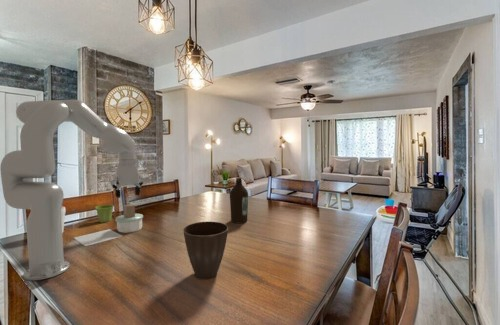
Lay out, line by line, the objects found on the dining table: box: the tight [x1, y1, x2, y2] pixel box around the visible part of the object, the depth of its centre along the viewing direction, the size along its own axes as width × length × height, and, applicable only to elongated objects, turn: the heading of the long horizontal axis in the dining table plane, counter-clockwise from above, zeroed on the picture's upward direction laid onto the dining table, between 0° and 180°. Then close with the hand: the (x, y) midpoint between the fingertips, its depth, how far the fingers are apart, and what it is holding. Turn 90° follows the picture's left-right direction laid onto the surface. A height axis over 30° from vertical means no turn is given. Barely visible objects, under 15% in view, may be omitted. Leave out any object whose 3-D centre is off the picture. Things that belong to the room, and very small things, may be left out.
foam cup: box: [61, 206, 66, 234], centre depth 127 cm, size 10×9×13 cm
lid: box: [114, 204, 144, 223], centre depth 133 cm, size 13×13×7 cm
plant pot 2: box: [182, 221, 229, 280], centre depth 88 cm, size 15×15×16 cm
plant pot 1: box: [95, 204, 115, 224], centre depth 150 cm, size 9×9×9 cm
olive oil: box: [229, 177, 249, 224], centre depth 148 cm, size 11×11×25 cm
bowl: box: [116, 218, 143, 234], centre depth 134 cm, size 11×11×6 cm
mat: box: [73, 228, 123, 247], centre depth 123 cm, size 16×16×1 cm
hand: (128, 196), depth 132 cm, fingers open, 9 cm apart
